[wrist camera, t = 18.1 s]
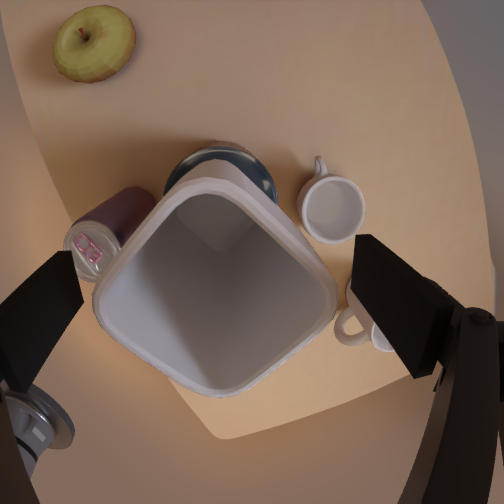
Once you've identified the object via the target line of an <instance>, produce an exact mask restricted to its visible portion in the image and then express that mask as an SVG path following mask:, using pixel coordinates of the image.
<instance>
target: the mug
mask: <svg viewBox="0 0 504 504" xmlns="http://www.w3.org/2000/svg"><path fill="white" fill-rule="evenodd" d="M350 286H351V279H350V281H349V283H348V286H347V290H346V299H347V302H348V304H349V307H347V308H346V309H345V310H344V311H343V312H342V313H341V314H340V315H339V316H338V318H337V319H336V321H335V325H334V333H335V336H336V338H337V340H338V341H339V342H341V343H342V344H344V345H348V346H356V345H360V344H363V343H366V342H368V341H369V340H371V342H372V343H373V345H374V346H375V347H376V348H377V349H379V350H381V351H384V352H395V350H394V349H393V347H392V346H391V345H390V343H389V342H388V340H387V339H386V337H385V336H384V335H383V333H382V332H381V330H380V329H379V328H378V326H377V325H376V323H375V322H374V321H373V319H372V318H371V316H370V315H369V314H368V312H367V311H366V310H365V308H364V307H363V305H362V304H361V303H360V301H359V300H358V299H357V297H356V296H355V295H354V293H353V292H352V291H351V289H350ZM353 315H355V316H356V318H357V319H358V321H359V322H360V324H361V326H362V327H363V329H364V330H363V331H361V332H360V333H358V334H355V335H347V334H345V332H344V330H343V326H344V324H345V322H346V321H347V320H348V319H349V318H350V317H352V316H353Z"/></svg>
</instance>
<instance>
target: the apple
mask: <svg viewBox="0 0 504 504" xmlns="http://www.w3.org/2000/svg"><path fill="white" fill-rule="evenodd" d="M135 42H136V31H135V28H134V26H133V23H132V21H131V19H130V18H129V17H128V16H127V15H126V14H124V13H123V12H122V11H121V10H120V9H118V8H116V7H112V6H108V5H100V6H93V7H87V8H85V9H83V10H81V11H79V12H77V13H75V14H74V15H73V16H71V17H70V18H69V19H68V20H67V21H66V22H65V23H64V24H63V25H62V27H61V28H60V30H59V32H58V33H57V35H56V38H55V41H54V44H53V59H54V63H55V65H56V67H57V69H58V70H59V72H60V73H61V74H62V75H64V76H65V77H67V78H68V79H70V80H72V81H75V82H84V83H94V82H98V81H102V80H105V79H107V78H109V77H110V76H112V75H114V74H115V73H117V72H118V71H119V70H120V69H121V68H122V67H123V66H124V65H125V64H126V62H127V61H128V60H129V58H130V56H131V54H132V52H133V50H134V48H135Z"/></svg>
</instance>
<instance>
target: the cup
mask: <svg viewBox="0 0 504 504" xmlns="http://www.w3.org/2000/svg"><path fill="white" fill-rule="evenodd" d="M92 303H93V304H92V305H93V312H94V314H95V316H96V318H97V320H98V322H99V324H100V326H101V327H102V328H103V329H104V330H105V331H106V332H107V333H108V334H109V335H110V336H111V337H112V338H113V339H114V340H116V341H117V342H118V343H120V344H121V345H123V346H124V347H125V348H127V349H128V350H130V351H131V352H132V353H134V354H135V355H137V356H138V357H140V358H141V359H143V360H144V361H146V362H147V363H148V364H150V365H152V366H153V367H154V368H156V369H158V370H159V371H161V372H163V373H164V374H165V375H167V376H168V377H170V378H172V379H173V380H175V381H176V382H178V383H180V384H181V385H183V386H184V387H186V388H188V389H189V390H191V391H194V392H196V393H199V394H201V395H204V396H208V397H217V398H223V397H229V396H235V395H238V394H240V393H242V392H244V391H246V390H248V389H250V388H252V387H253V386H254V385H256V384H257V383H258V382H260V381H261V380H262V379H264V378H265V377H266V376H268V375H269V374H270V373H271V372H273V371H274V370H275V369H277V368H278V367H279V366H280V365H282V364H283V363H284V362H286V361H287V360H288V359H289V358H291V357H292V356H293V355H294V354H296V353H297V352H298V351H299V350H300V349H302V348H303V347H304V346H305V345H307V344H308V343H309V342H310V341H311V340H313V339H314V338H315V337H316V336H317V335H319V334H320V333H321V332H322V331H323V330H324V329H325V328H326V326H327V325H328V324H329V323H330V322H331V320H332V319H333V318H334V315H335V313H336V310H337V307H338V304H339V294H338V285H337V284H336V282H335V280H334V279H333V277H332V275H331V274H330V272H329V271H328V269H327V268H326V266H325V265H324V263H323V262H322V260H321V259H320V258H319V256H318V255H317V253H316V252H315V250H314V249H313V248H312V246H311V245H310V243H309V242H308V240H307V239H306V238H305V236H304V235H303V234H302V233H301V231H300V230H299V229H298V228H297V226H296V225H295V224H294V223H293V222H292V221H291V219H290V218H289V217H288V216H287V215H286V214H285V213H284V212H283V211H282V210H281V209H280V208H279V207H278V206H277V205H276V204H275V203H274V202H273V201H272V200H271V199H270V198H269V197H268V196H267V195H266V194H265V193H264V192H262V191H261V190H260V189H259V188H258V187H257V186H256V185H255V184H254V183H253V182H252V181H251V180H250V179H249V178H248V177H247V176H246V175H245V174H243V173H242V172H241V171H240V170H239V169H238V168H237V167H236V166H234V165H233V164H231V163H229V162H228V161H225V160H219V159H213V160H209V161H205V162H202V163H200V164H199V165H197V166H196V167H194V168H193V169H192V170H190V171H189V172H188V173H187V174H185V175H184V176H183V177H182V178H181V179H180V180H179V181H178V182H177V183H176V184H175V185H174V186H173V187H172V188H171V189H170V190H169V192H168V193H167V194H166V195H165V196H164V197H163V198H162V199H161V201H160V202H159V203H158V204H157V205H156V206H155V208H154V209H153V210H152V211H151V212H150V214H149V215H148V216H147V217H146V218H145V220H144V221H143V222H142V223H141V225H140V226H139V227H138V228H137V229H136V231H135V232H134V233H133V234H132V236H131V237H130V238H129V239H128V241H127V242H126V243H125V245H124V246H123V247H122V248H121V250H120V251H119V252H118V254H117V255H116V256H115V257H114V259H113V260H112V261H111V263H110V264H109V265H108V267H107V268H106V269H105V271H104V272H103V273H102V275H101V276H100V277H99V279H98V280H97V283H96V285H95V288H94V290H93V293H92Z"/></svg>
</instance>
